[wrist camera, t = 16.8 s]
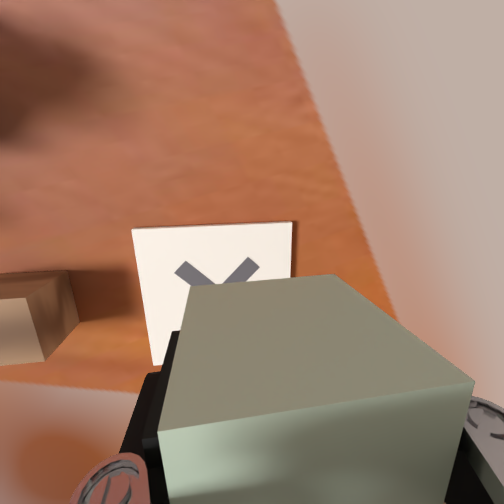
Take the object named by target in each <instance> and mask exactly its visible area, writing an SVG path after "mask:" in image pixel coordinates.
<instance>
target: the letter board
mask: <svg viewBox="0 0 504 504" xmlns="http://www.w3.org/2000/svg"><path fill="white" fill-rule="evenodd" d="M131 230H132V236H133V242H134V248H135V255H136V261H137V267H138V273H139V279H140V286H141V292H142V298H143V304H144V310H145V316H146V323H147V329H148V335H149V341H150V347H151V354H152V360H153V366H155V365H163V361H164V358H165V354H166V350H167V347H168V343H169V340H170V336H171V333H172V331H179V330H180V329H181V325H182V320H183V316H184V311H185V307H186V302H187V298H188V294H189V289H190V286H200V285H212V284H223V283H235V282H247V281H258V280H270V279H282V278H290V270H291V241H292V222H290V221H283V222H260V223H236V224H213V225H189V226H166V227H142V228H133V229H131Z"/></svg>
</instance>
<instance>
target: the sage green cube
mask: <svg viewBox="0 0 504 504" xmlns="http://www.w3.org/2000/svg"><path fill="white" fill-rule="evenodd" d="M474 384H475V381H474V380H473V379H472V378H471V377H469V376H468V375H467V374H465V373H464V372H462V371H461V370H460V369H459V368H457V367H456V366H454V365H453V364H452V363H451V362H449V361H448V360H447V359H445V358H444V357H443V356H441V355H440V354H439V353H438V352H436V351H435V350H434V349H432V348H431V347H430V346H428V345H427V344H426V343H424V342H423V341H421V340H420V339H419V338H418V337H417V336H415V335H414V334H412V333H411V332H410V331H409V330H407V329H406V328H405V327H403V326H402V325H401V324H399V323H398V322H397V321H395V320H394V319H393V318H391V317H390V316H389V315H388V314H386V313H385V312H384V311H382V310H381V309H380V308H378V307H377V306H376V305H374V304H373V303H372V302H370V301H369V300H368V299H366V298H365V297H364V296H363V295H361V294H360V293H359V292H357V291H356V290H355V289H353V288H352V287H351V286H349V285H348V284H347V283H345V282H344V281H343V280H341V279H340V278H339V277H337V276H336V275H335V274H328V275H317V276H305V277H293V278H282V279H270V280H258V281H247V282H235V283H223V284H212V285H200V286H190V289H189V294H188V298H187V302H186V307H185V311H184V316H183V320H182V325H181V329H180V333H179V338H178V342H177V347H176V351H175V356H174V360H173V364H172V369H171V373H170V378H169V382H168V387H167V391H166V395H165V400H164V404H163V409H162V413H161V418H160V422H159V426H158V431H157V433H158V439H159V445H160V450H161V456H162V462H163V467H164V473H165V479H166V484H167V490H168V496H169V501H170V504H443V503H444V499H445V495H446V492H447V488H448V484H449V480H450V476H451V472H452V469H453V465H454V461H455V457H456V453H457V449H458V446H459V442H460V438H461V434H462V430H463V427H464V423H465V419H466V415H467V411H468V407H469V404H470V400H471V396H472V392H473V388H474Z"/></svg>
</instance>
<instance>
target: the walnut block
mask: <svg viewBox="0 0 504 504" xmlns="http://www.w3.org/2000/svg"><path fill="white" fill-rule="evenodd" d="M79 323H80V321H79V316H78V312H77V308H76V304H75V300H74V296H73V291H72V287H71V283H70V279H69V275H68V271H67V270H61V271H43V272H24V273H6V274H0V366H3V365H13V364H23V363H33V362H43V361H46V360H47V358H48V357H49V356H50V355H51V354H52V353H53V352H54V351H55V349H56V348H57V347H58V346H59V345H60V344H61V343H62V342H63V341H64V339H65V338H66V337H67V336H68V335H69V334H70V333H71V332H72V331H73V329H74V328H75V327H76V326H77V325H78V324H79Z"/></svg>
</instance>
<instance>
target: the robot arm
mask: <svg viewBox="0 0 504 504" xmlns="http://www.w3.org/2000/svg"><path fill="white" fill-rule="evenodd" d="M179 333H180V330H179V331H172V333H171V336H170V340H169V343H168V347H167V350H166V354H165V358H164V361H163V365H162V368H161V371H160V372H152V373H148V374H147V375H146V377H145V380H144V383H143V386H142V389H141V391H140V394H139V397H138V400H137V403H136V406H135V408H134V411H133V414H132V417H131V420H130V423H129V426H128V429H127V431H126V435H125V437H124V440H123V443H122V446H121V448H120V451H119V454H116V455H113V456H110V457H109V458H107V459H105V460H104V461H102V462H100V463H99V464H98V465H96V466H95V467H94V468H93V469H92V470H90V471H89V472H88V473H87V475H86V476H85V477H84V478H83V479H82V481H81V482H80V483H79V484H78V486H77V488H76V490H75V492H74V493H73V495H72V498H71V500H70V504H170V501H169V496H168V490H167V484H166V479H165V473H164V467H163V462H162V456H161V450H160V445H159V439H158V433H157V431H158V426H159V422H160V418H161V413H162V409H163V404H164V400H165V395H166V391H167V387H168V382H169V378H170V373H171V369H172V364H173V360H174V356H175V351H176V347H177V342H178V338H179ZM443 504H504V409H503V408H502V407H500V406H498V405H496V404H494V403H492V402H490V401H487V400H484V399H482V398H479V397H474V396H471V400H470V404H469V407H468V411H467V415H466V419H465V423H464V427H463V430H462V434H461V438H460V442H459V446H458V449H457V453H456V457H455V461H454V465H453V469H452V472H451V476H450V480H449V484H448V488H447V492H446V495H445V499H444V503H443Z"/></svg>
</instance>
